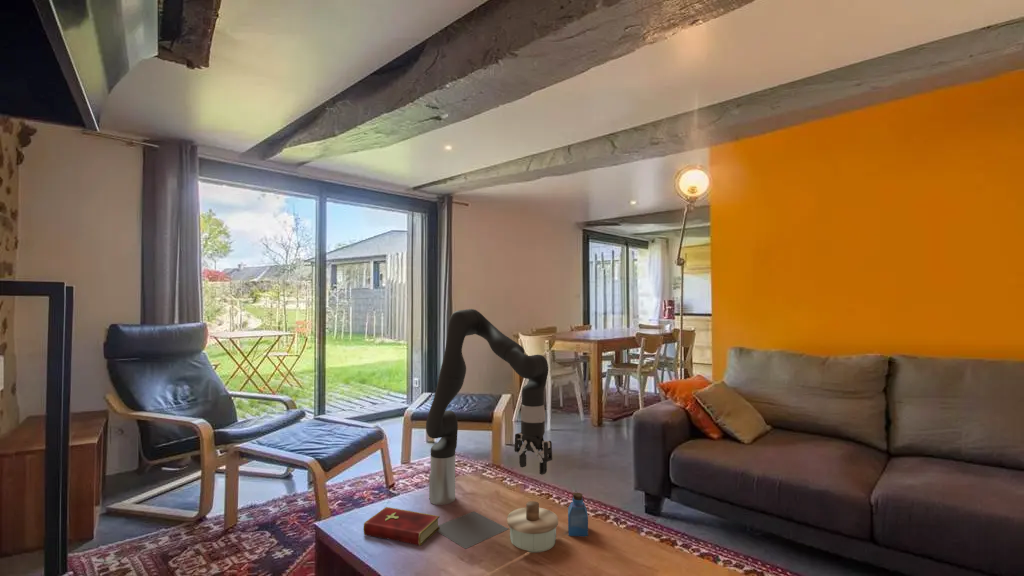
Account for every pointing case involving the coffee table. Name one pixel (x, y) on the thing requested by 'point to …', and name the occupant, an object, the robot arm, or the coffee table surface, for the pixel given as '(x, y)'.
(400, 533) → the hardcover book
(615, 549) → the coffee table surface
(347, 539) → the coffee table surface
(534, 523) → the lid
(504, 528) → the mat
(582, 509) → the perfume bottle
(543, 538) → the bowl
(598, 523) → the coffee table surface
